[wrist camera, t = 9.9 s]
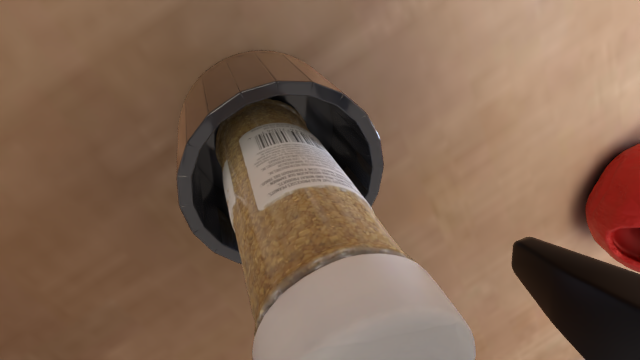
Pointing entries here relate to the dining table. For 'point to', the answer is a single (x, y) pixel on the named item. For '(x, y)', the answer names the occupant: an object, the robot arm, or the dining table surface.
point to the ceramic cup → (249, 87)
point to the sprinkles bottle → (323, 253)
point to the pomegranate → (618, 209)
